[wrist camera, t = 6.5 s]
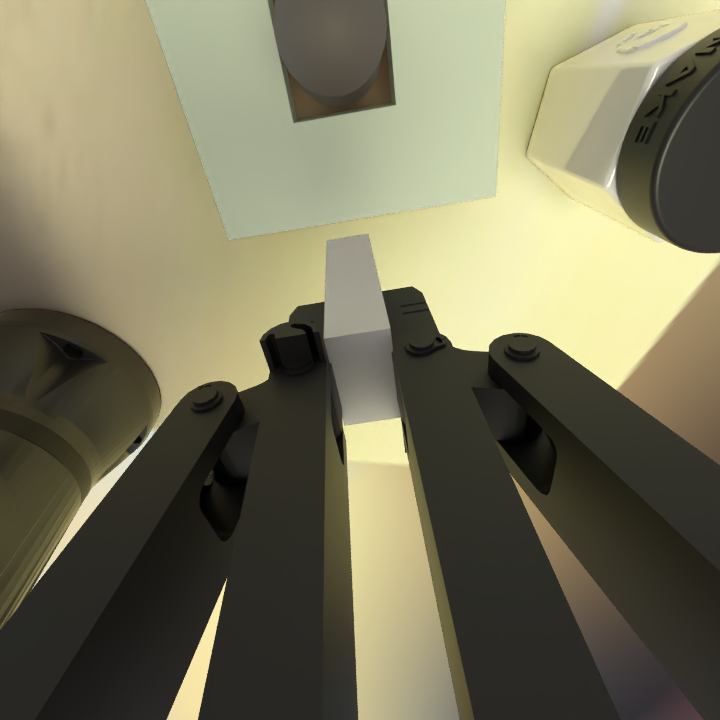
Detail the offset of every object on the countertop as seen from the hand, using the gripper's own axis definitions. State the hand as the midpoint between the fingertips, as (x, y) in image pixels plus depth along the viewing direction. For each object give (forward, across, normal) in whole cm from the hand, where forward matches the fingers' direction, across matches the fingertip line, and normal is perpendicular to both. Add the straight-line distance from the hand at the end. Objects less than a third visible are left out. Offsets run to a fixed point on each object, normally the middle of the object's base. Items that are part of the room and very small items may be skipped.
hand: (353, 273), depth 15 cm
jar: (+14, +16, +2) cm, 21 cm away
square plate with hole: (+11, +1, +7) cm, 13 cm away
